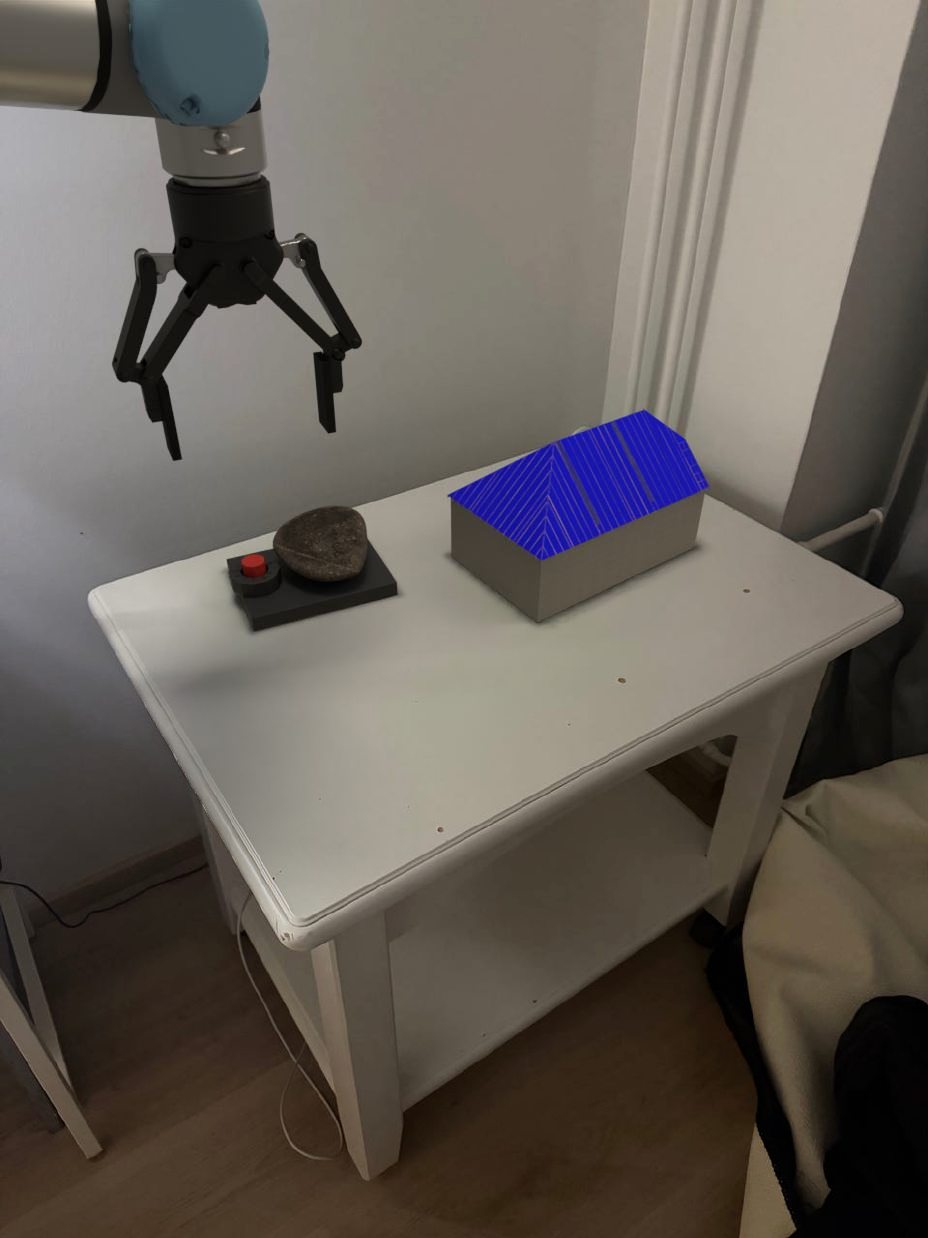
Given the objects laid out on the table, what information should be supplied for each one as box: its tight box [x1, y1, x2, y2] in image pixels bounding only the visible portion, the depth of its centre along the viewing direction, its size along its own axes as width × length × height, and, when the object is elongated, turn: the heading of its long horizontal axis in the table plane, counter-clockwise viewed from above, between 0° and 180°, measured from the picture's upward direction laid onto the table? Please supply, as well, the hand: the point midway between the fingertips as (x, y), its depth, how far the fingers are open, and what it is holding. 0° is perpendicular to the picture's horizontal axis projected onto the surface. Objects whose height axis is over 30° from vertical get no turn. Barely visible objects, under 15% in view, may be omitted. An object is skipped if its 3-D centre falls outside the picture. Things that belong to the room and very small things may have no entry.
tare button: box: [242, 554, 266, 578], centre depth 95 cm, size 2×2×2 cm
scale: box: [226, 537, 398, 632], centre depth 98 cm, size 17×12×4 cm
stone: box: [272, 505, 368, 582], centre depth 98 cm, size 11×11×5 cm
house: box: [446, 408, 711, 623], centre depth 100 cm, size 25×16×16 cm, turn 127°
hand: (253, 440), depth 78 cm, fingers open, 13 cm apart
